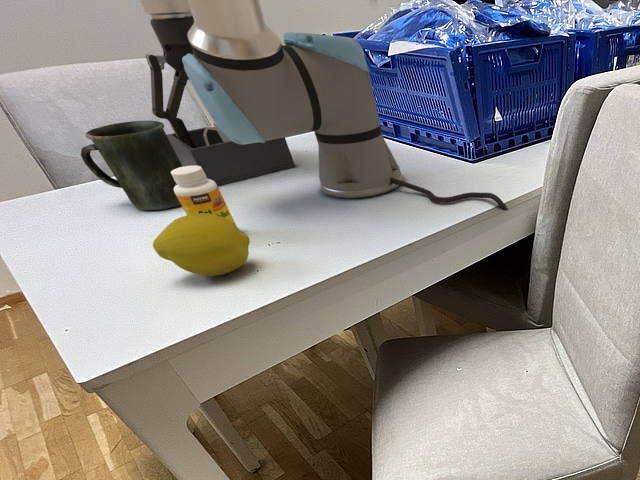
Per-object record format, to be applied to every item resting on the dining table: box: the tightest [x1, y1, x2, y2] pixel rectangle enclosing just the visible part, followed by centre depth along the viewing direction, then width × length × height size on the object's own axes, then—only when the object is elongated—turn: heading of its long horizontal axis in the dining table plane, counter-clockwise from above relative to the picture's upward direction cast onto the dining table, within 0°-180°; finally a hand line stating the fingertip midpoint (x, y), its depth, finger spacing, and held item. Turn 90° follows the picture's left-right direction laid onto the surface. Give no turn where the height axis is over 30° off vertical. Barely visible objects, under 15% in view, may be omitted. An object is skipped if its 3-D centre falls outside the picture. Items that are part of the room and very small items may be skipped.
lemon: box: [152, 213, 251, 277], centre depth 60 cm, size 11×8×8 cm
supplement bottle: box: [171, 165, 237, 226], centre depth 67 cm, size 6×6×10 cm
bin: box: [166, 126, 296, 187], centre depth 94 cm, size 17×18×7 cm
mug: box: [80, 120, 183, 211], centre depth 79 cm, size 11×15×12 cm
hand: (231, 148), depth 94 cm, fingers open, 13 cm apart
